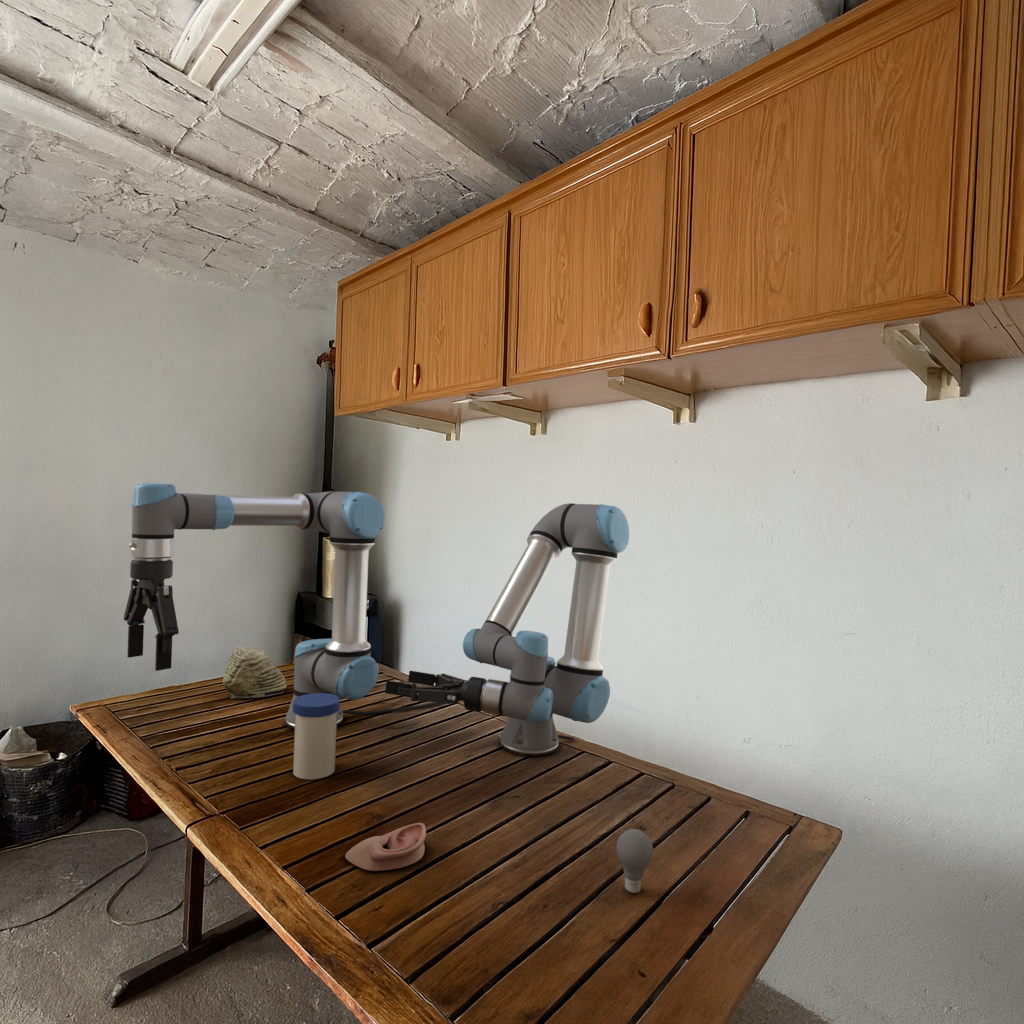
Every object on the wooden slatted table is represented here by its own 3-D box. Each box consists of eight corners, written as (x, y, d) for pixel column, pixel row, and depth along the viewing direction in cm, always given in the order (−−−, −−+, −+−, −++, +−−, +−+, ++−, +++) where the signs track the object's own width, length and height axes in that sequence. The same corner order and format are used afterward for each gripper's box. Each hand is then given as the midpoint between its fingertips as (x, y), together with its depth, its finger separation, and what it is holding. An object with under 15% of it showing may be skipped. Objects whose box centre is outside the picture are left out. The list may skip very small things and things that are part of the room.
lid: (305, 700, 152) (305, 691, 152) (346, 704, 150) (346, 694, 150) (284, 715, 141) (285, 704, 141) (328, 719, 140) (329, 708, 140)
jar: (303, 760, 151) (306, 693, 151) (341, 764, 150) (343, 697, 150) (285, 777, 142) (288, 706, 142) (325, 781, 141) (327, 709, 141)
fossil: (218, 695, 195) (220, 647, 195) (278, 685, 208) (279, 640, 207) (228, 703, 189) (230, 653, 188) (289, 692, 201) (290, 645, 201)
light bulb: (610, 879, 108) (613, 822, 108) (644, 879, 109) (647, 822, 109) (619, 902, 102) (622, 840, 102) (655, 901, 103) (658, 840, 103)
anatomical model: (337, 842, 109) (366, 811, 120) (336, 865, 109) (365, 832, 120) (410, 854, 106) (432, 821, 117) (409, 878, 106) (432, 842, 118)
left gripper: (108, 554, 134) (104, 654, 134) (159, 565, 118) (155, 678, 119) (146, 552, 140) (143, 648, 140) (199, 563, 124) (195, 671, 124)
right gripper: (466, 725, 132) (373, 709, 137) (496, 700, 157) (416, 687, 161) (470, 689, 133) (377, 674, 138) (499, 670, 157) (419, 657, 162)
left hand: (148, 662), depth 129 cm, fingers open, 13 cm apart
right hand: (398, 681), depth 150 cm, fingers open, 13 cm apart
